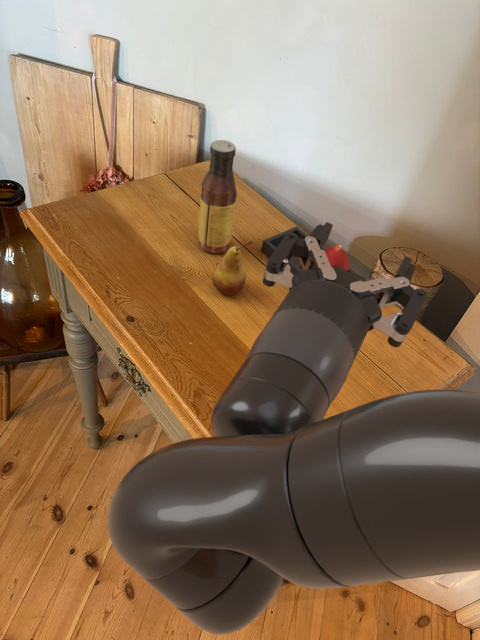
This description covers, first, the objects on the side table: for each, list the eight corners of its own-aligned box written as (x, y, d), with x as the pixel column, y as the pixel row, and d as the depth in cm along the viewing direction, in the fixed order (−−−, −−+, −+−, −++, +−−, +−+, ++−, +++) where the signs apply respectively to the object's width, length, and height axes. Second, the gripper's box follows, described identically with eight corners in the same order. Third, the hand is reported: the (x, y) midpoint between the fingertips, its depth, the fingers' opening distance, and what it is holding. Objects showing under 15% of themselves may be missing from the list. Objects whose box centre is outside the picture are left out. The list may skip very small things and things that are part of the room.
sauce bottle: (236, 244, 89) (253, 147, 74) (217, 260, 85) (232, 161, 70) (208, 229, 90) (220, 132, 76) (189, 244, 86) (197, 144, 72)
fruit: (236, 276, 83) (247, 221, 74) (247, 298, 79) (259, 243, 70) (206, 279, 81) (214, 223, 72) (216, 302, 77) (225, 247, 69)
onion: (304, 277, 84) (316, 242, 78) (322, 264, 87) (335, 230, 81) (330, 295, 82) (344, 260, 76) (347, 281, 85) (362, 247, 79)
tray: (293, 236, 93) (296, 226, 91) (357, 288, 85) (362, 278, 84) (260, 250, 88) (263, 240, 87) (325, 307, 81) (329, 296, 79)
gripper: (411, 361, 33) (450, 245, 43) (236, 277, 36) (312, 188, 46) (372, 415, 38) (415, 301, 49) (223, 338, 41) (294, 247, 52)
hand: (365, 246), depth 47 cm, fingers open, 8 cm apart
